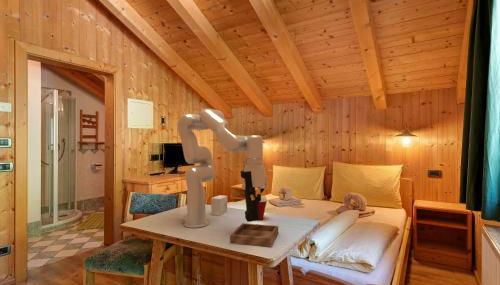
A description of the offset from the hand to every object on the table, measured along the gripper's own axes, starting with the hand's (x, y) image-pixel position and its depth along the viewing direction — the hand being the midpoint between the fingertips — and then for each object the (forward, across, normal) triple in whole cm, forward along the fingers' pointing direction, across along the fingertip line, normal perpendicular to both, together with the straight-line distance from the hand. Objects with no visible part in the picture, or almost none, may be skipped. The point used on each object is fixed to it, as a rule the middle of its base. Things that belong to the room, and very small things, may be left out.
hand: (255, 202), depth 119 cm
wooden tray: (+16, 0, 0) cm, 16 cm away
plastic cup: (+16, -6, +30) cm, 35 cm away
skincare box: (+16, -33, +37) cm, 52 cm away
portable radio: (+8, -1, +1) cm, 8 cm away
